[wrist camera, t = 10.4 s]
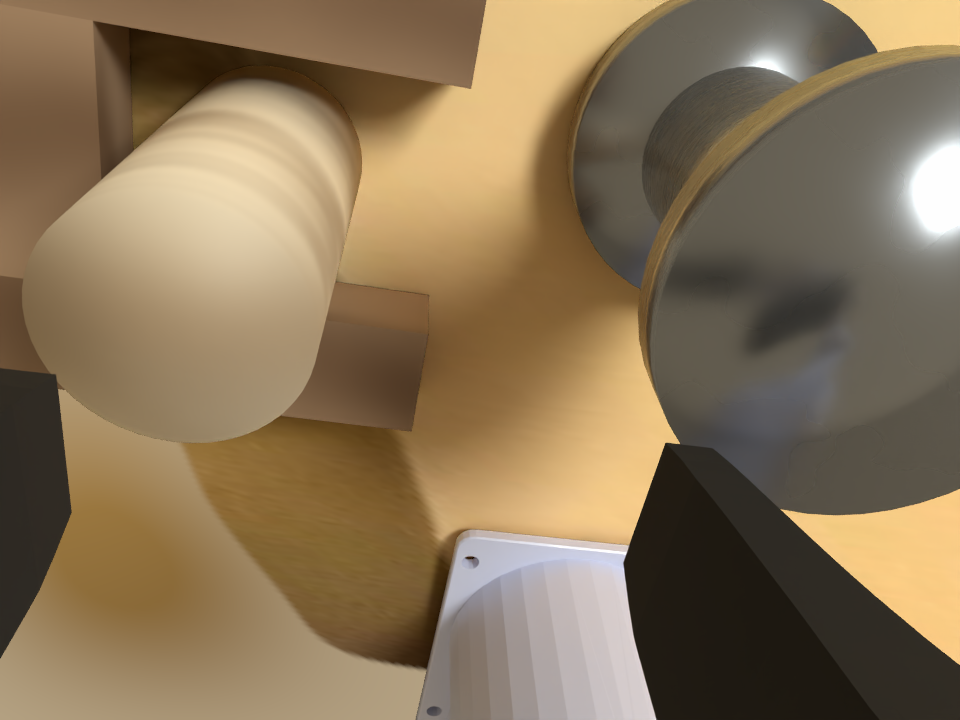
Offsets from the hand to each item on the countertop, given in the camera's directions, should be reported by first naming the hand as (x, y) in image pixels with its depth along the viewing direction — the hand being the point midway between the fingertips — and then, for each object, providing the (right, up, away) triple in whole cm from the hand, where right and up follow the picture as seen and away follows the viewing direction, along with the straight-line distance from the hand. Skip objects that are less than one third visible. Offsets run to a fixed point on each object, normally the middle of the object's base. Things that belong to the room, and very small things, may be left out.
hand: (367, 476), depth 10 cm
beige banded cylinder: (-3, +6, +8) cm, 11 cm away
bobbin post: (+7, +6, +9) cm, 13 cm away
